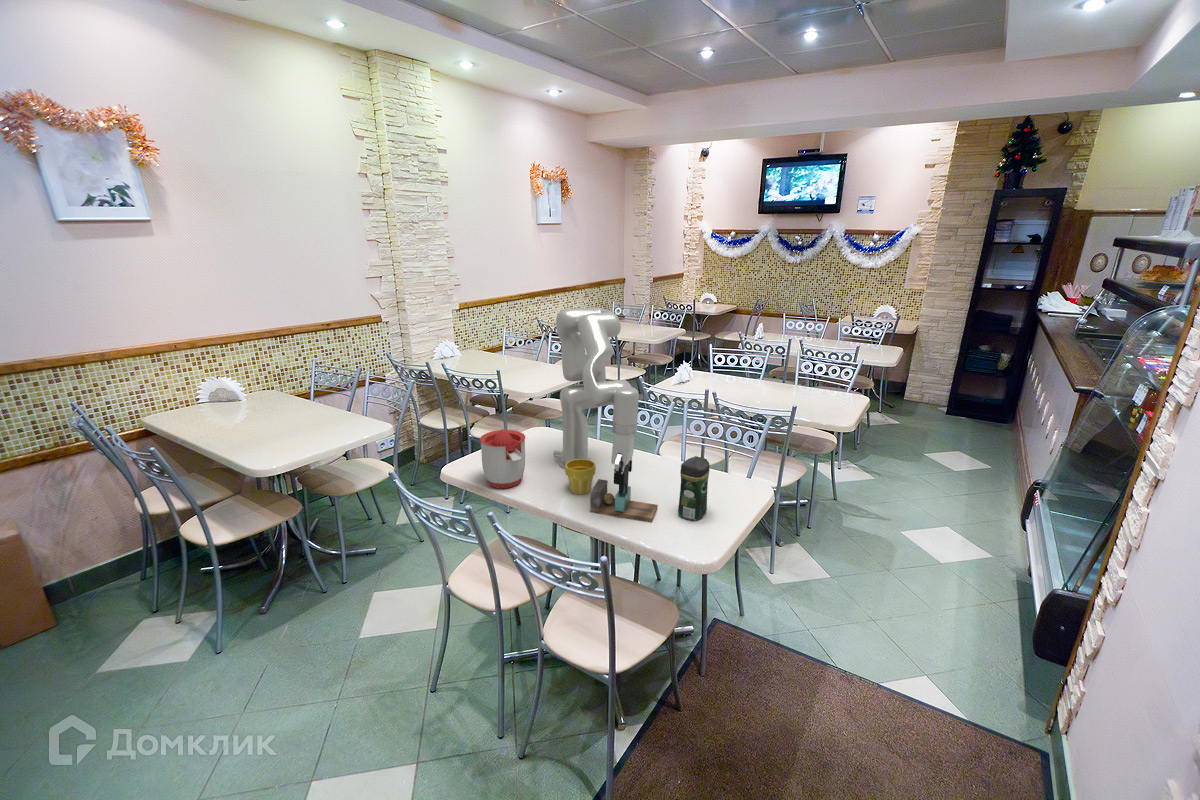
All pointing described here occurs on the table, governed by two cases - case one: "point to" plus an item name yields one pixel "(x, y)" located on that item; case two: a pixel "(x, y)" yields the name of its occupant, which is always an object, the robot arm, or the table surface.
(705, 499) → the coffee jar
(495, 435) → the citrus juicer
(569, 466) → the plant pot
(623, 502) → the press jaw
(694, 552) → the table surface
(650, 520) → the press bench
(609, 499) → the walnut
